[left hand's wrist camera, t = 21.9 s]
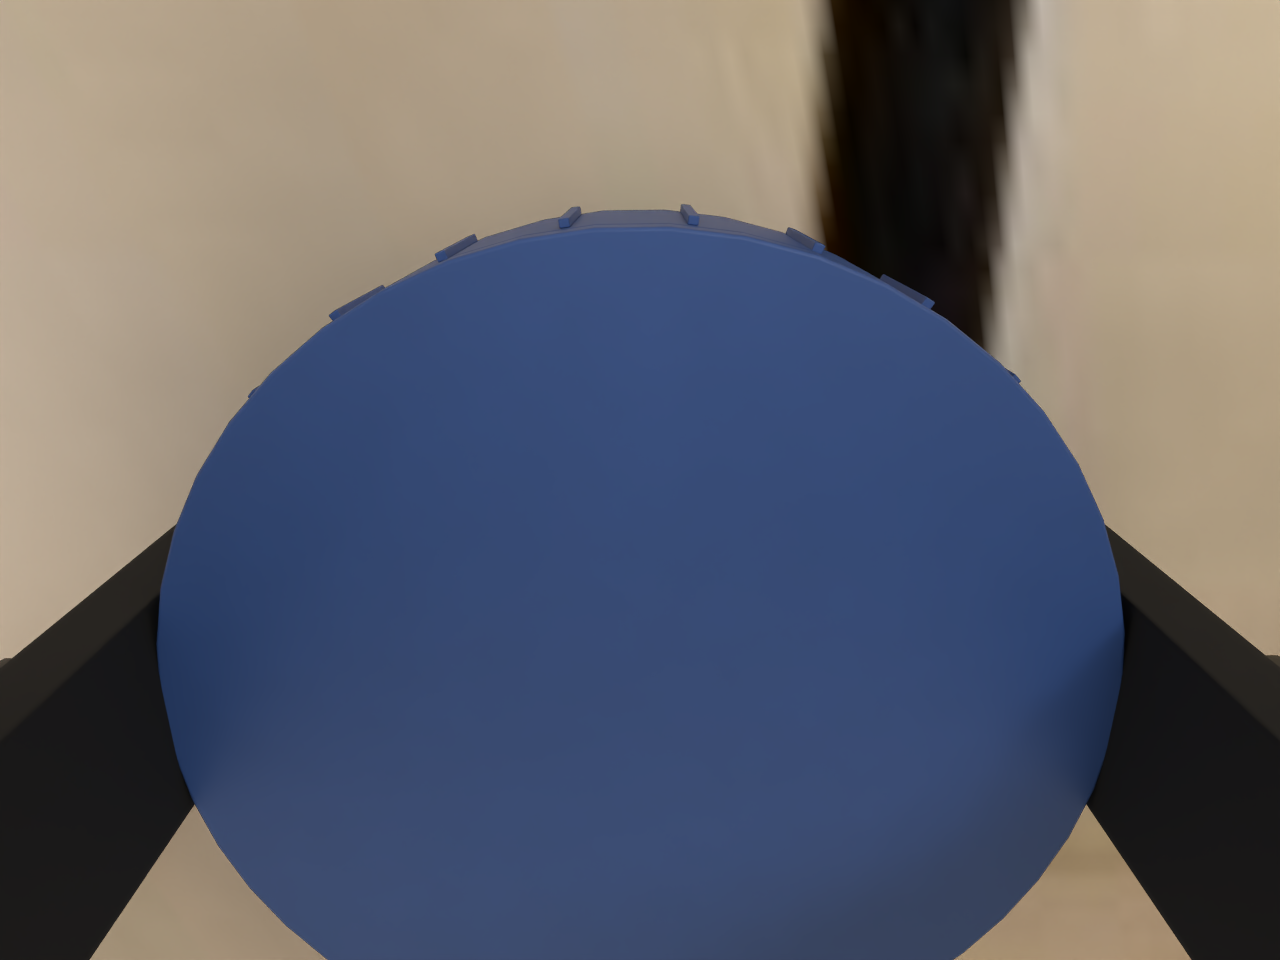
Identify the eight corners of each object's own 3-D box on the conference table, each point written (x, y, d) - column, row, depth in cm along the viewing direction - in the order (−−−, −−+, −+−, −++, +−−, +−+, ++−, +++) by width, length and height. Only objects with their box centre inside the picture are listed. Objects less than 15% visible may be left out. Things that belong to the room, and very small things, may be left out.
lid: (66, 521, 12) (-67, 609, 10) (770, -5, 10) (808, -50, 7) (555, 1016, 15) (540, 1168, 13) (1170, 701, 13) (1282, 819, 11)
